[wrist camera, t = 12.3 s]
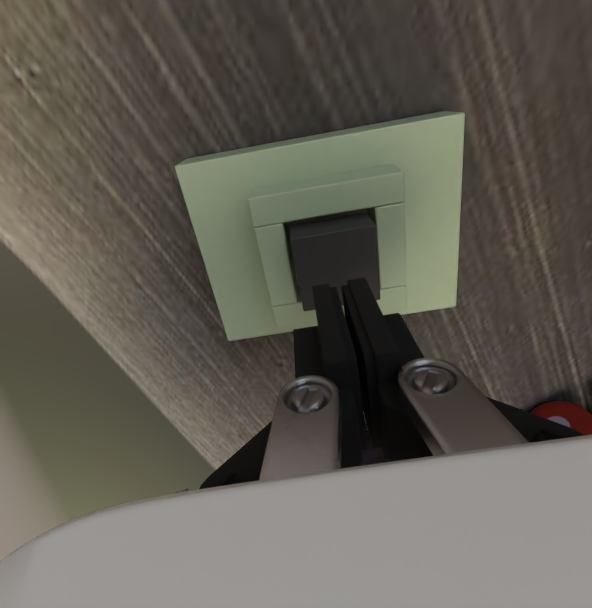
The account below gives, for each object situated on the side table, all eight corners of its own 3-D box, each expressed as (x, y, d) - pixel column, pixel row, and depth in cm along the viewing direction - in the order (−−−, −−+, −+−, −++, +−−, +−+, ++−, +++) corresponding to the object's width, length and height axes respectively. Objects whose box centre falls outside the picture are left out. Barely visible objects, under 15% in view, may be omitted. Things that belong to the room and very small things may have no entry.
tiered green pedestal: (233, 320, 22) (223, 362, 18) (186, 158, 18) (160, 173, 14) (441, 287, 21) (471, 325, 18) (445, 110, 17) (486, 114, 13)
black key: (302, 292, 17) (303, 312, 15) (289, 224, 15) (290, 239, 14) (372, 281, 17) (380, 300, 15) (367, 212, 15) (375, 224, 14)
